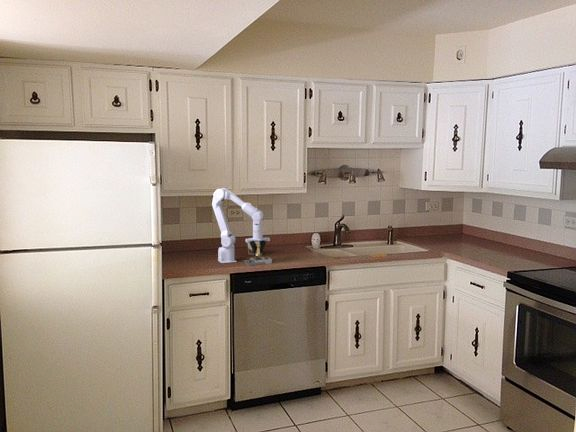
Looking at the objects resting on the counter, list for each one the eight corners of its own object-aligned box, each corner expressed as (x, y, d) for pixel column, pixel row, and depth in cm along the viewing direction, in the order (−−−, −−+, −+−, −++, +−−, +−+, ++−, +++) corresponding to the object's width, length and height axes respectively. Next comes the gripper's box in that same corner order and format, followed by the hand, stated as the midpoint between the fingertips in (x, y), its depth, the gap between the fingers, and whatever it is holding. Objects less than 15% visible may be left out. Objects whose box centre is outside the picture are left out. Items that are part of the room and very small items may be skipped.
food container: (267, 253, 334) (267, 238, 332) (264, 255, 328) (264, 239, 327) (250, 252, 338) (250, 237, 337) (246, 253, 332) (246, 238, 331)
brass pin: (255, 258, 303) (255, 245, 302) (253, 257, 307) (253, 244, 305) (262, 258, 304) (262, 244, 303) (260, 256, 308) (259, 243, 307)
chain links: (247, 265, 299) (247, 260, 299) (243, 262, 306) (243, 257, 306) (271, 263, 305) (271, 258, 305) (267, 260, 312) (267, 255, 312)
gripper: (248, 232, 297) (248, 255, 299) (271, 231, 302) (271, 253, 304) (244, 230, 303) (244, 253, 305) (267, 229, 309) (267, 251, 311)
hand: (257, 253), depth 305 cm, fingers closed on brass pin, 4 cm apart
